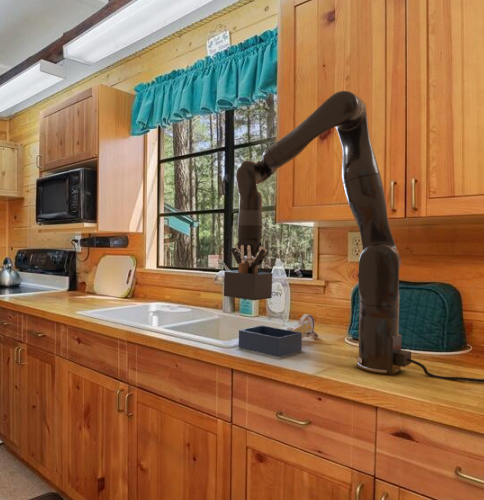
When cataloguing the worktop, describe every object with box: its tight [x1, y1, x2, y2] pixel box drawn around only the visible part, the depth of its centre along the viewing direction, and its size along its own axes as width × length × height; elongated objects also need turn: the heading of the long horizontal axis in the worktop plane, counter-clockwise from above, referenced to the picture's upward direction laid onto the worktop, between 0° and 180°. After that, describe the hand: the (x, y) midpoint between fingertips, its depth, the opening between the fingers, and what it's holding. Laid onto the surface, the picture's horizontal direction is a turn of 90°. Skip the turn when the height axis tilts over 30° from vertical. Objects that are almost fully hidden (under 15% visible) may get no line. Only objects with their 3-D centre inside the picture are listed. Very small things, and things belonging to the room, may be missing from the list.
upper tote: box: [223, 263, 273, 301], centre depth 139 cm, size 12×10×11 cm
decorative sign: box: [286, 313, 319, 340], centre depth 145 cm, size 18×1×10 cm, turn 129°
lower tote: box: [238, 324, 303, 358], centre depth 133 cm, size 14×12×6 cm
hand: (248, 278), depth 139 cm, fingers closed on upper tote, 1 cm apart
